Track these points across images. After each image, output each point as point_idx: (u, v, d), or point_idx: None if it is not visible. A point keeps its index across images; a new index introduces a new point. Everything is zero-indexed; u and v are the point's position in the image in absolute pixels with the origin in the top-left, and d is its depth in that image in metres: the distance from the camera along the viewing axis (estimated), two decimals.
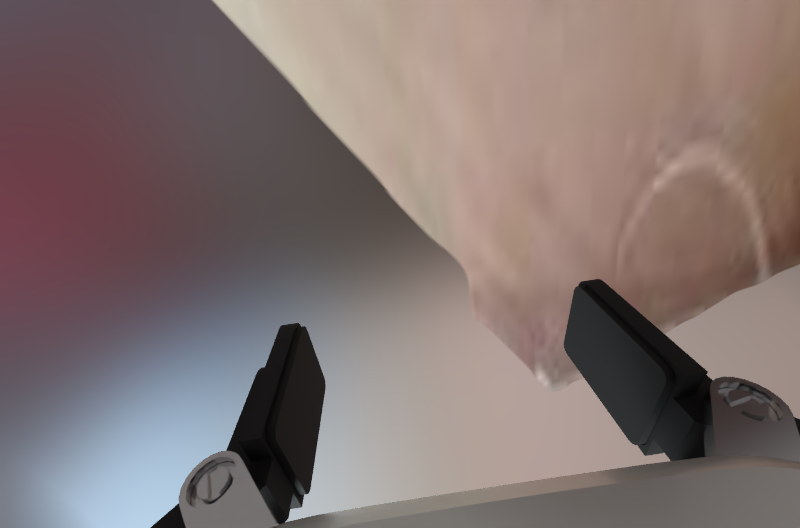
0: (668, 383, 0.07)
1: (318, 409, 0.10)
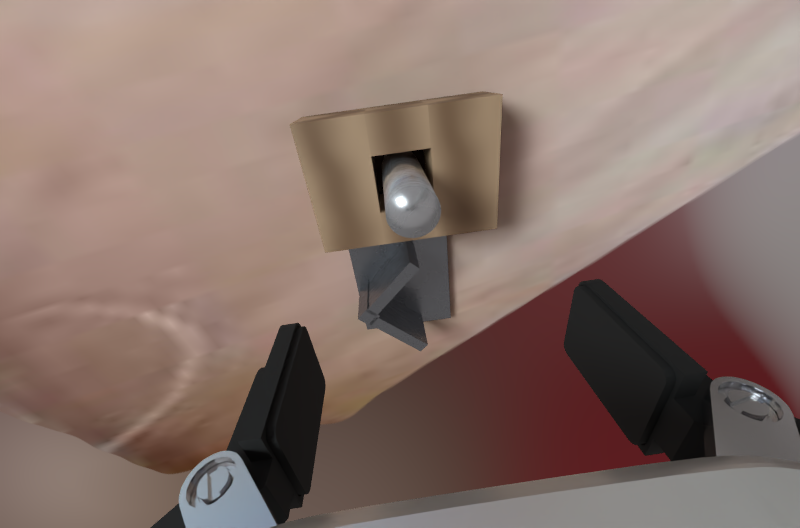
0: (668, 383, 0.07)
1: (318, 409, 0.10)
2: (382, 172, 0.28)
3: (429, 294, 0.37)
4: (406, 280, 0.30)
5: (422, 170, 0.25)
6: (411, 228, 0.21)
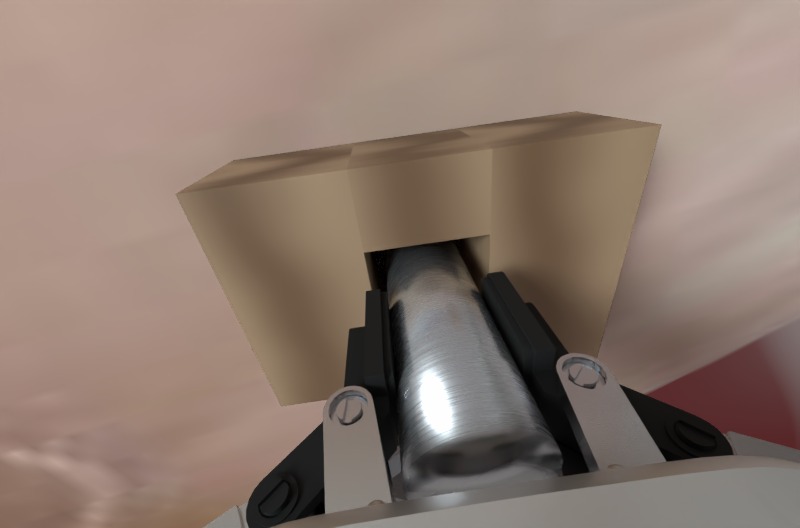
0: (528, 359, 0.08)
1: None
2: (386, 266, 0.15)
3: None
4: None
5: (473, 285, 0.12)
6: None
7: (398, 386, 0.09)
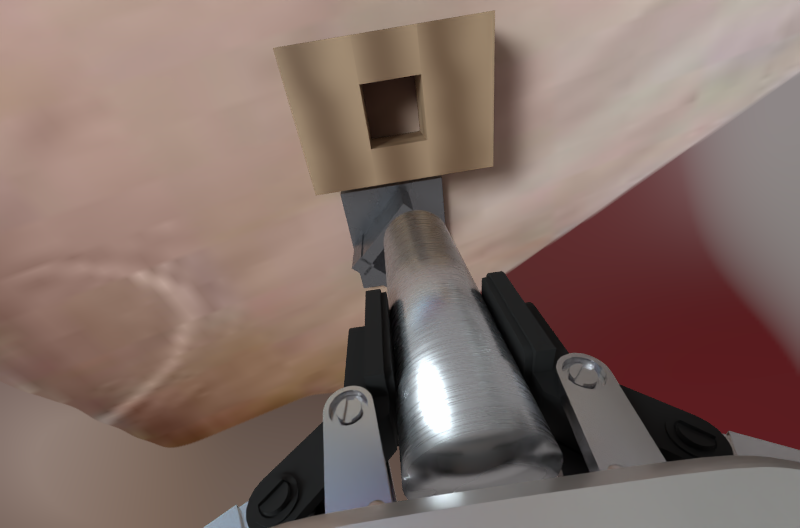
0: (528, 359, 0.08)
1: None
2: (386, 265, 0.15)
3: None
4: None
5: (473, 284, 0.12)
6: None
7: (398, 385, 0.09)
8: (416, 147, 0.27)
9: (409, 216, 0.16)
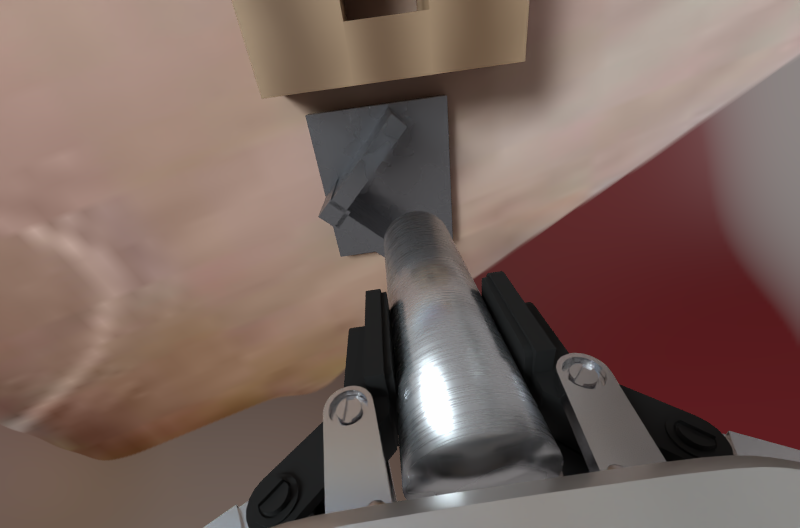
0: (528, 359, 0.08)
1: None
2: (386, 266, 0.15)
3: (424, 202, 0.27)
4: (387, 148, 0.20)
5: (474, 285, 0.12)
6: None
7: (398, 387, 0.09)
8: (412, 21, 0.18)
9: (409, 217, 0.16)
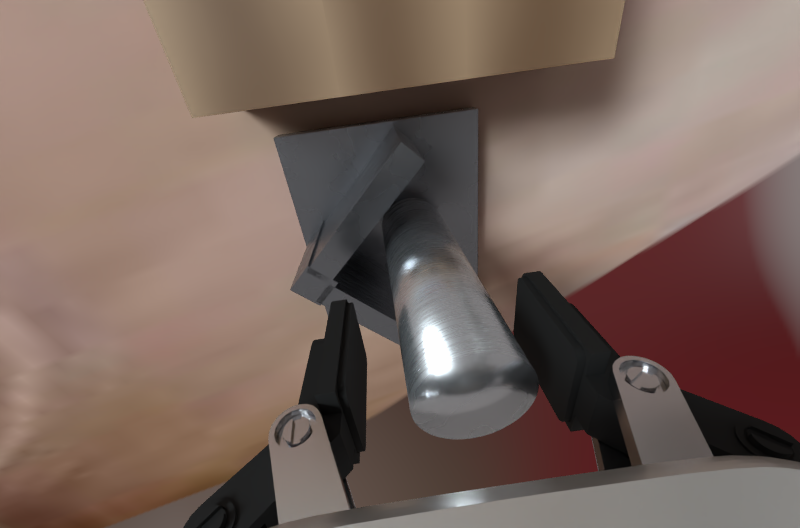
0: (580, 362, 0.08)
1: (364, 380, 0.11)
2: (386, 246, 0.16)
3: None
4: (393, 193, 0.13)
5: (465, 257, 0.13)
6: (467, 424, 0.09)
7: (403, 336, 0.10)
8: None
9: (405, 203, 0.18)
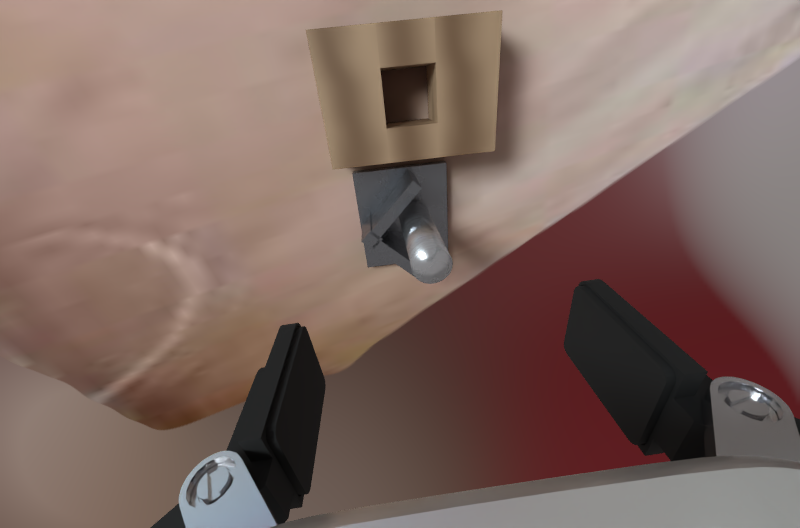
0: (668, 383, 0.07)
1: (318, 409, 0.10)
2: (402, 224, 0.35)
3: None
4: (409, 200, 0.32)
5: (435, 227, 0.32)
6: (430, 276, 0.28)
7: (409, 250, 0.29)
8: (427, 129, 0.30)
9: (411, 204, 0.37)
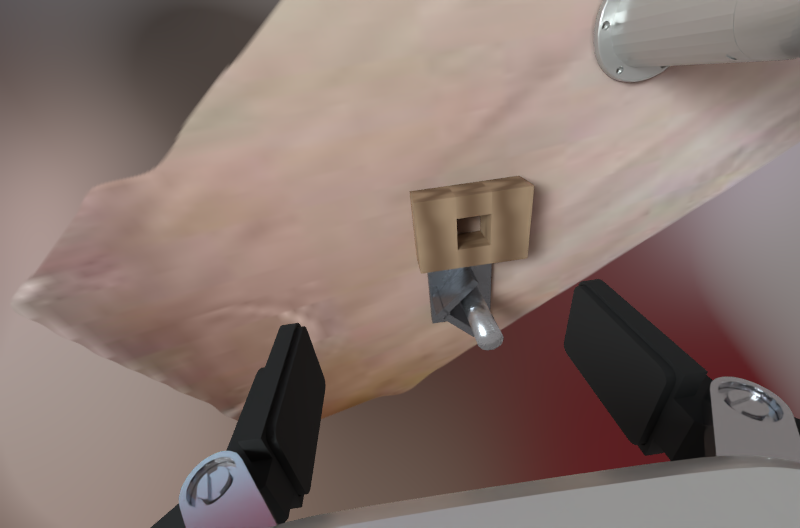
0: (668, 383, 0.07)
1: (318, 409, 0.10)
2: (462, 300, 0.51)
3: None
4: (470, 290, 0.48)
5: (487, 307, 0.48)
6: (488, 346, 0.44)
7: (474, 327, 0.45)
8: (483, 248, 0.46)
9: None
